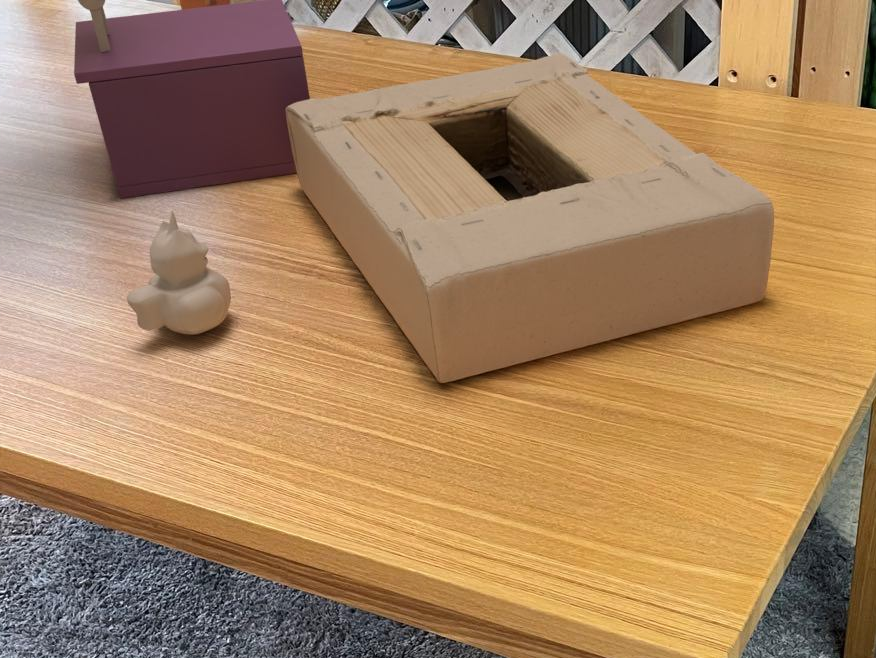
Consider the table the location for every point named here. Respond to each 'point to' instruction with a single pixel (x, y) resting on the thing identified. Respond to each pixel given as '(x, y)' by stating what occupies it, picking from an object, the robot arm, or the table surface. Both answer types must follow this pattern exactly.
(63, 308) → the table surface
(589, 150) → the box
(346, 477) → the table surface
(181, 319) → the rubber duck
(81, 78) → the lid
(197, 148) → the box
